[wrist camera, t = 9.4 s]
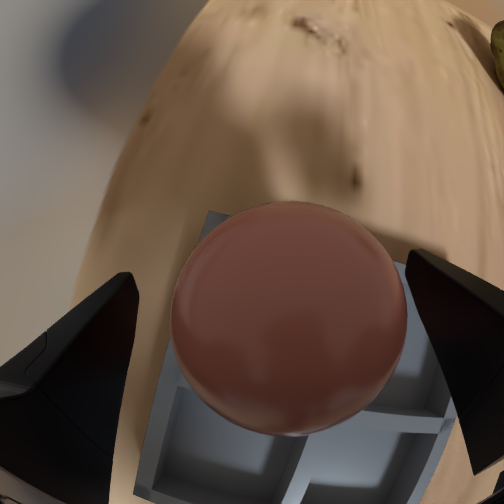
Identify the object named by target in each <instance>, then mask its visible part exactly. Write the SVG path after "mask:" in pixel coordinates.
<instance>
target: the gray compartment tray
mask: <svg viewBox="0 0 504 504" xmlns="http://www.w3.org/2000/svg"><path fill="white" fill-rule="evenodd" d="M230 217H232V216H229V215H225V214H221V213H217V212H213V211H209V213H208V216H207V219H206V222H205V225H204V228H203V231H202V234H201V237H200V240H199V242H200V241H201V240H202V239H203V238H204V237H205V236H206V235H207V234H208V233H209V232H210V231H212V230H213V229H214V228H215V227H217V226H218V225H219V224H220V223H222V222H224V221H225V220H227V219H228V218H230ZM393 262H394V264H395V266H396V268H397V270H398V272H399V275H400V278H401V281H402V284H403V287H404V292H405V296H406V302H407V314H408V318H407V333H406V339H405V344H404V348H403V351H402V354H401V357H400V360H399V362H398V365H397V367H396V369H395V371H394V373H393V375H392V376H391V378H390V380H389V381H388V383H387V385H386V386H385V387H384V389H383V390H382V391H381V392H380V394H379V395H378V396H377V397H376V398H375V399H374V400H373V401H372V402H371V403H370V404H369V405H368V406H367V407H366V408H365V409H364V410H362V411H361V412H359V413H358V414H357V415H355V416H354V417H353V418H351V419H349V420H348V421H346V422H344V423H342V424H340V425H338V426H336V427H334V428H331V429H328V430H326V431H323V432H319V433H315V434H311V435H306V436H297V437H276V436H269V435H263V434H259V433H255V432H252V431H249V430H246V429H243V428H241V427H239V426H237V425H235V424H232V423H230V422H229V421H227V420H226V419H224V418H222V417H221V416H219V415H218V414H216V413H215V412H214V411H213V410H212V409H210V408H209V407H208V406H207V405H206V404H205V403H204V402H203V401H202V400H201V399H200V398H199V397H198V396H197V395H196V393H195V392H194V391H193V390H192V388H191V387H190V385H189V384H188V382H187V381H186V379H185V377H184V375H183V373H182V371H181V369H180V367H179V365H178V363H177V359H176V356H175V353H174V350H173V346H172V340H171V335H170V339H169V343H168V346H167V350H166V354H165V357H164V361H163V365H162V369H161V373H160V376H159V380H158V384H157V388H156V392H155V396H154V400H153V404H152V408H151V412H150V417H149V421H148V425H147V430H146V434H145V438H144V443H143V447H142V452H141V457H140V461H139V466H138V471H137V476H136V481H135V486H134V491H133V495H136V496H138V497H141V498H143V499H146V500H148V501H151V502H153V503H156V504H419V502H420V500H421V498H422V496H423V494H424V492H425V490H426V488H427V486H428V484H429V482H430V480H431V478H432V476H433V474H434V472H435V469H436V467H437V465H438V463H439V460H440V458H441V456H442V453H443V451H444V448H445V446H446V443H447V441H448V438H449V436H450V433H451V430H452V427H453V425H454V422H455V419H456V416H457V413H456V409H455V406H454V403H453V400H452V397H451V395H450V392H449V389H448V386H447V383H446V380H445V378H444V375H443V372H442V370H441V367H440V364H439V362H438V359H437V357H436V354H435V352H434V349H433V347H432V344H431V342H430V340H429V337H428V335H427V333H426V330H425V328H424V326H423V323H422V321H421V319H420V317H419V314H418V312H417V309H416V306H415V303H414V300H413V297H412V294H411V291H410V289H409V286H408V283H407V280H406V278H405V267H406V265H405V264H401V263H398V262H395V261H393Z"/></svg>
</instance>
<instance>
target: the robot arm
mask: <svg viewBox="0 0 504 504" xmlns="http://www.w3.org/2000/svg"><path fill="white" fill-rule="evenodd" d="M405 278H406V280H407V283H408V286H409V289H410V291H411V294H412V297H413V300H414V303H415V306H416V309H417V312H418V314H419V317H420V319H421V321H422V323H423V326H424V328H425V330H426V333H427V335H428V337H429V340H430V342H431V344H432V347H433V349H434V352H435V354H436V357H437V359H438V362H439V364H440V367H441V370H442V372H443V375H444V378H445V380H446V383H447V386H448V389H449V392H450V395H451V397H452V400H453V403H454V406H455V409H456V413H457V416H458V419H460V420H459V423H460V426H461V429H462V433H463V436H464V440H465V443H466V447H467V451H468V455H469V459H470V463H471V467H472V471H473V474H474V476H475V475H477V474H479V473H480V472H482V471H484V470H486V469H487V468H489V467H491V466H493V465H494V464H496V463H498V462H499V461H501V460H503V459H504V291H503V290H500V289H499V288H498V287H496V286H494V285H492V284H490V283H488V282H487V281H485V280H483V279H481V278H479V277H477V276H475V275H473V274H472V273H470V272H468V271H466V270H464V269H462V268H460V267H458V266H456V265H454V264H452V263H450V262H448V261H446V260H444V259H442V258H440V257H438V256H436V255H434V254H432V253H430V252H428V251H425V250H423V249H412V250H410V252H409V255H408V259H407V263H406V267H405ZM138 306H139V292H138V289H137V286H136V283H135V280H134V277H133V275H132V273H131V272H120V273H118V274H117V275H115V276H114V277H113V278H111V279H110V280H109V281H107V282H106V283H105V284H103V285H102V286H101V287H100V288H98V289H97V290H96V291H94V292H93V293H92V294H91V295H89V296H88V297H87V298H85V299H84V300H83V301H82V302H80V303H79V304H78V305H77V306H75V307H74V308H73V309H72V310H70V311H69V312H68V313H67V314H66V315H64V316H63V317H62V318H61V319H59V320H58V321H57V322H56V323H55V324H53V325H52V326H51V327H50V328H49V329H47V332H46V331H45V332H44V333H42V334H41V335H40V336H39V337H38V338H37V339H35V340H34V341H33V342H32V343H31V344H29V345H28V346H27V347H26V348H24V349H23V350H22V351H20V352H19V353H18V354H16V355H15V356H14V357H13V358H11V359H10V360H9V361H7V362H6V363H5V364H3V365H2V366H1V367H0V504H109V493H110V482H111V473H112V464H113V455H114V447H115V440H116V433H117V427H118V420H119V414H120V408H121V403H122V397H123V392H124V386H125V381H126V376H127V371H128V366H129V362H130V357H131V352H132V348H133V343H134V338H135V330H136V322H137V313H138ZM477 504H504V471H502V472H501V473H500V475H499V478H498V480H497V483H496V486H495V488H494V491H493V494H492V495H491V496H489V497H487V498H486V499H484V500H482V501H480V502H479V503H477Z"/></svg>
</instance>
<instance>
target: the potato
mask: <svg viewBox="0 0 504 504" xmlns="http://www.w3.org/2000/svg"><path fill="white" fill-rule="evenodd" d="M490 46H491V50H492V53H493V56H494V58H495V60H496V74H497V77H498V79H499V81H500V83H501V86H502V87H503V89H504V21H500V22H498V23H497V24H496V25H495V26H494V28H493V29H492V33H491V43H490Z"/></svg>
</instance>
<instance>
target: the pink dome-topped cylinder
mask: <svg viewBox="0 0 504 504" xmlns="http://www.w3.org/2000/svg"><path fill="white" fill-rule="evenodd" d="M407 318H408V314H407V302H406V296H405V292H404V287H403V284H402V281H401V278H400V275H399V272H398V270H397V268H396V266H395V264H394V262H393V260H392V259H391V257H390V256H389V254H388V253H387V251H386V250H385V248H384V247H383V246H382V245H381V243H380V242H379V241H378V240H377V239H376V238H375V237H374V236H373V235H372V234H371V233H370V232H369V231H368V230H367V229H366V228H364V227H363V226H362V225H361V224H359V223H358V222H356V221H355V220H353V219H352V218H350V217H349V216H347V215H345V214H343V213H341V212H339V211H337V210H334V209H331V208H328V207H325V206H323V205H318V204H313V203H309V202H298V201H282V202H273V203H267V204H262V205H259V206H255V207H252V208H249V209H247V210H244V211H242V212H240V213H238V214H236V215H233V216H232V217H230V218H228V219H227V220H225V221H224V222H222V223H220V224H219V225H218V226H217V227H215V228H214V229H213V230H212V231H210V232H209V233H208V234H207V235H206V236H205V237H204V238H203V239H202V240H201V241H200V242H199V243H198V245H197V246H196V247H195V248H194V250H193V251H192V253H191V254H190V255H189V257H188V258H187V260H186V262H185V264H184V266H183V267H182V269H181V271H180V274H179V276H178V279H177V282H176V284H175V287H174V291H173V296H172V300H171V308H170V335H171V340H172V346H173V350H174V353H175V356H176V359H177V363H178V365H179V367H180V369H181V371H182V373H183V375H184V377H185V379H186V381H187V382H188V384H189V385H190V387H191V388H192V390H193V391H194V392H195V393H196V395H197V396H198V397H199V398H200V399H201V400H202V401H203V402H204V403H205V404H206V405H207V406H208V407H209V408H210V409H212V410H213V411H214V412H215V413H216V414H218V415H219V416H221V417H222V418H224V419H226V420H227V421H229V422H230V423H232V424H235V425H237V426H239V427H241V428H243V429H246V430H249V431H252V432H255V433H259V434H263V435H269V436H276V437H297V436H306V435H311V434H315V433H319V432H323V431H326V430H328V429H331V428H334V427H336V426H338V425H340V424H342V423H344V422H346V421H348V420H349V419H351V418H353V417H354V416H355V415H357V414H358V413H359V412H361V411H362V410H364V409H365V408H366V407H367V406H368V405H369V404H370V403H371V402H372V401H373V400H374V399H375V398H376V397H377V396H378V395H379V394H380V392H381V391H382V390H383V389H384V387H385V386H386V385H387V383H388V381H389V380H390V378H391V376H392V375H393V373H394V371H395V369H396V367H397V365H398V362H399V360H400V357H401V354H402V351H403V348H404V344H405V339H406V333H407Z"/></svg>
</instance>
